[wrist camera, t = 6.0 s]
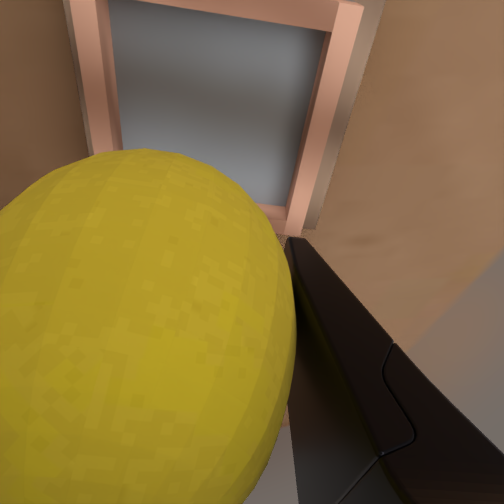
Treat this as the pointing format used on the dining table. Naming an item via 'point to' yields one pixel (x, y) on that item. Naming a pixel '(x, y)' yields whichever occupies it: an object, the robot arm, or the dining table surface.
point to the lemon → (140, 335)
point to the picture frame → (227, 87)
